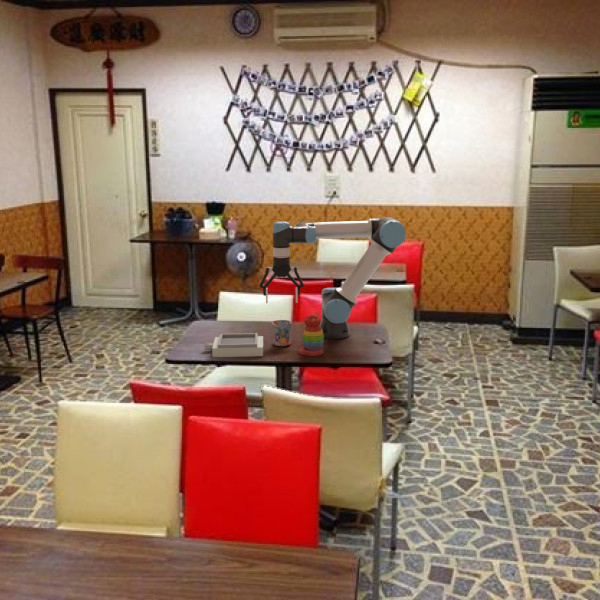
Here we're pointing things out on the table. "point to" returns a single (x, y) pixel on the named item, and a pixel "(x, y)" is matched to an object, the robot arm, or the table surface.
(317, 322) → the stacking bear
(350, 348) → the table surface
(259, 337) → the open box
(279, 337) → the mug
